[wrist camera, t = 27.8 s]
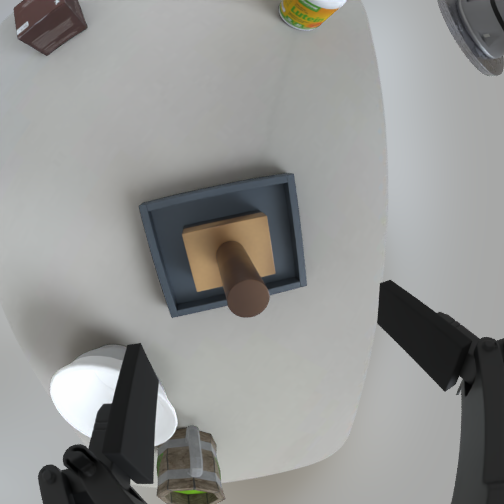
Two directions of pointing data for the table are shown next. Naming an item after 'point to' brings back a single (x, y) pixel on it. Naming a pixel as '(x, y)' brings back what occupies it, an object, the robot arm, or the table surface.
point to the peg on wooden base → (232, 259)
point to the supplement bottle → (308, 12)
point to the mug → (189, 469)
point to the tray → (215, 206)
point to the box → (48, 23)
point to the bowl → (101, 391)
